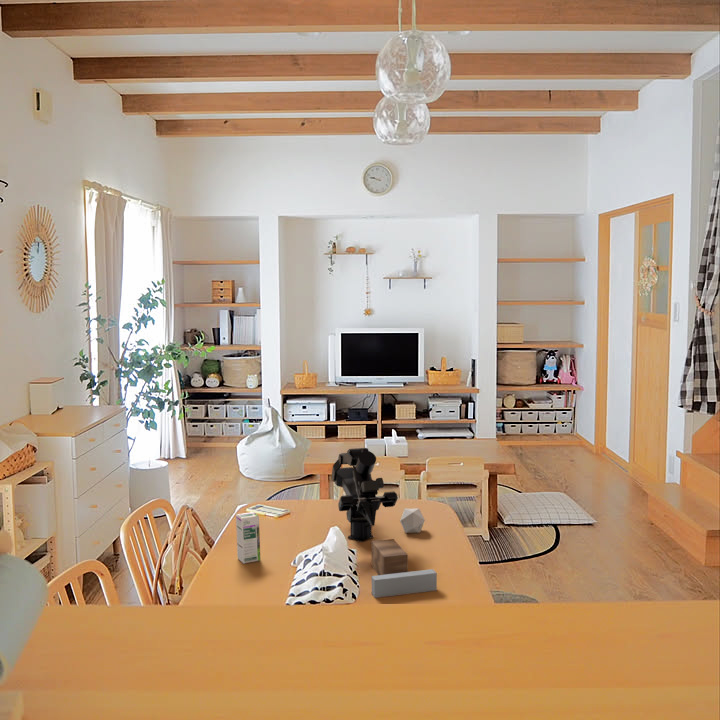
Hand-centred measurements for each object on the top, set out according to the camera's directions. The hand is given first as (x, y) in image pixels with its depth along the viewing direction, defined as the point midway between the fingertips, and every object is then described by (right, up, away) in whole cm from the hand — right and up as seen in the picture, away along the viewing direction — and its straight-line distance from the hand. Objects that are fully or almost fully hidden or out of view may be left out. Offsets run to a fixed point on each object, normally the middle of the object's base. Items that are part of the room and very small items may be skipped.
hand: (373, 525), depth 242 cm
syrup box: (-39, -10, -3) cm, 40 cm away
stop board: (+8, -12, -29) cm, 33 cm away
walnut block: (+5, -11, -16) cm, 20 cm away
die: (+14, -7, +22) cm, 27 cm away
